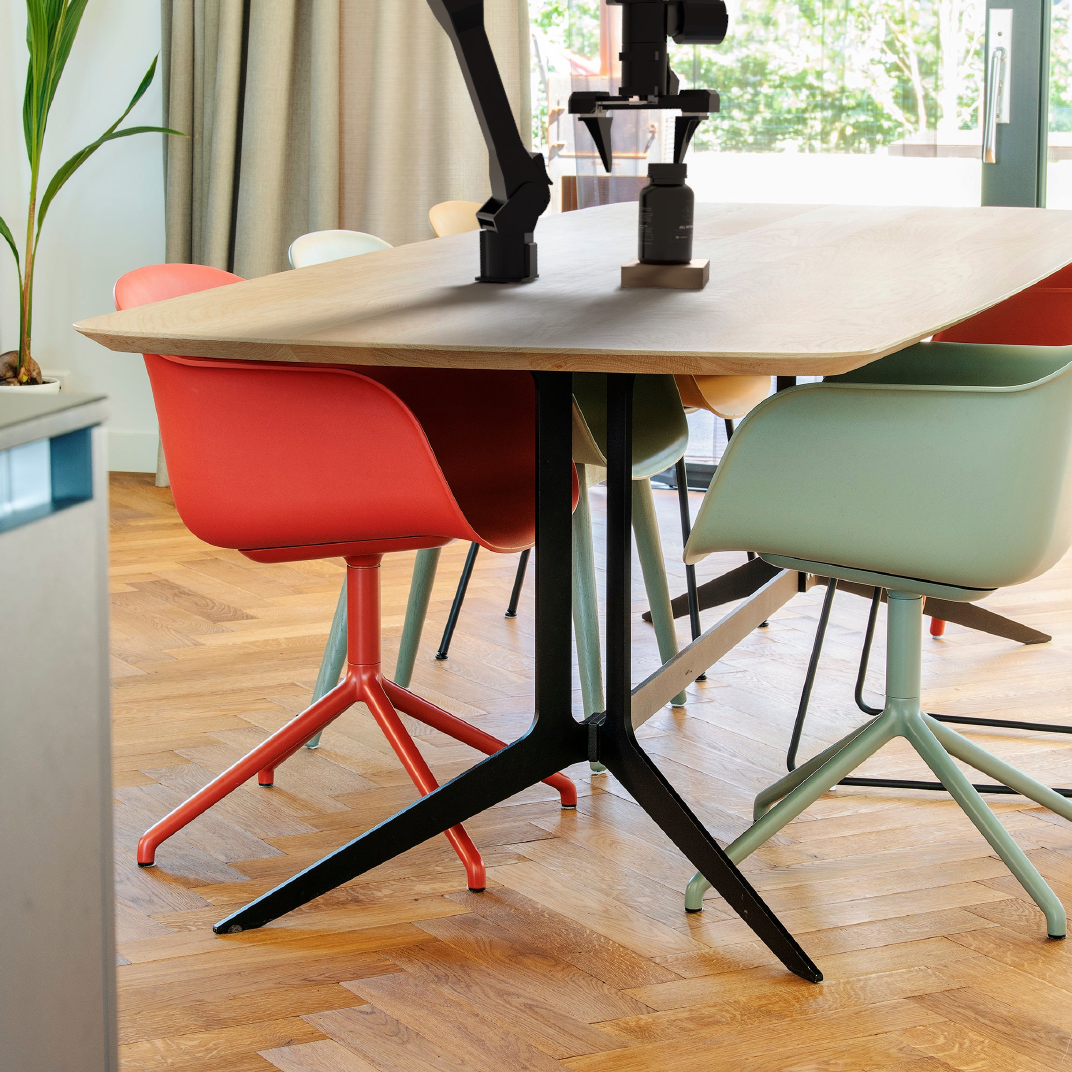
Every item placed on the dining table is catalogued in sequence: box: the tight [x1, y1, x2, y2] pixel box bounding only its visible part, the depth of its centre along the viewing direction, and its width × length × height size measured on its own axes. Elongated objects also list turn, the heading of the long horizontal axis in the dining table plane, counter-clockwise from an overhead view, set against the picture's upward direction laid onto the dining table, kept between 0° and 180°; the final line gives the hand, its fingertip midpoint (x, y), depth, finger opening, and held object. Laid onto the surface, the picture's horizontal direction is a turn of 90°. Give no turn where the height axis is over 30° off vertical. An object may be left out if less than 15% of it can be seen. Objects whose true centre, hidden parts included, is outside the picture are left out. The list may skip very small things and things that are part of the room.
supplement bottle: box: [637, 162, 695, 264], centre depth 160 cm, size 7×7×12 cm
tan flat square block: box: [620, 257, 711, 290], centre depth 163 cm, size 10×10×2 cm
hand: (642, 172), depth 168 cm, fingers open, 9 cm apart
